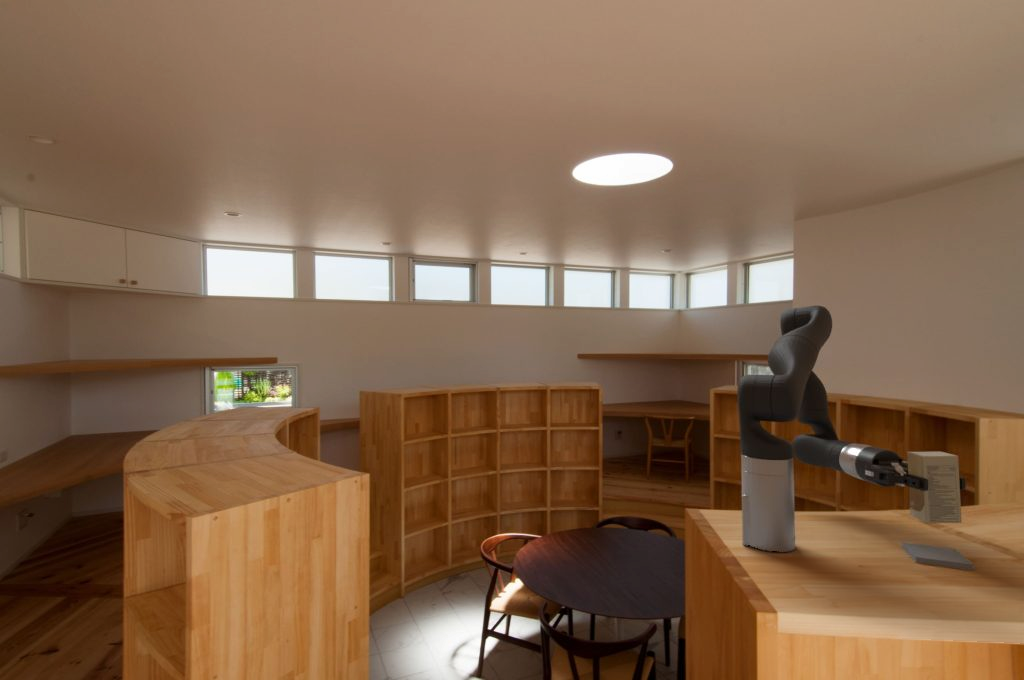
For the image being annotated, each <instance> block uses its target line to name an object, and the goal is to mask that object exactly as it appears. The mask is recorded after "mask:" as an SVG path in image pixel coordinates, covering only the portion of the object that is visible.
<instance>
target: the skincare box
mask: <svg viewBox="0 0 1024 680" xmlns="http://www.w3.org/2000/svg"><path fill="white" fill-rule="evenodd" d="M906 454H907V462H908V474H911V475H915V476H919V477H922V478H926V479H927V480H928V490H927V491H921V490H918V489H915V488H912V487H908V494H909V495H908V499H909V515H910V516H911V517H913V518H915V519H917V520H918V521H919V520H920V521H921V522H924V523H925V524H962V507H961V506H962V505H961V504H962V503H961V490H960V482H959V476H960V470H959V469H960V468H959V467H960V466H959V465H960V464H959V455H956V454H952V453H948V452H945V451H906Z"/></svg>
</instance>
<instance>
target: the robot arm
mask: <svg viewBox="0 0 1024 680" xmlns="http://www.w3.org/2000/svg"><path fill="white" fill-rule="evenodd" d="M780 315H781V316H780V322H779V323H780V330H781V331H780V333H781V336H780V337H779V338H778V339H777V340H776V341H775V342H774V344H773V346H772V348H771V349H770V351H769V354H768V355H767V364H768V367H769V370H770V371H771V372H772V374H746V375H742V376H741V377H740V379H739V381H738V385H737V393H736V394H737V395H736V399H737V410H738V411H737V412H738V423H739V427H738V428H739V442H740V457H741V458H740V460H741V461H740V462H741V463H740V465H741V466H740V467H741V519H742V520H741V521H742V523H741V526H742V527H741V529H742V545H743V546H748V545H750V546H749V547H752V548H754V547H755V548H754V549H757V548H758V550H760V551H761V550H762V551H766V550H767V552H772V551H777V552H776V553H785V552H786V553H788V552H792V551H794V550H795V549H796V521H795V519H796V517H795V479H794V477H795V476H794V457H795V459H797V460H798V461H799V462H801V463H803V464H806V465H811V466H815V467H823V468H828V469H831V470H832V469H833V470H835V471H837V472H840V473H841V472H842V473H844V474H847V475H849V476H852V477H853V478H857V480H858V479H859V480H860V481H861V480H862V481H866V482H867V483H870V484H875V485H876V486H881V487H884V488H888V487H889V488H890V487H893V486H894V487H895V486H900V487H908V488H909V487H912V488H915V489H918V490H921V491H927V490H928V480H927V479H926V478H922V477H919V476H915V475H911V474H908V461H904V460H903V459H902V457H901V456H900V455H899V454H898V453H897V452H896V451H893V450H889V449H886V448H881V447H876V446H873V445H870V444H864V443H863V444H862V443H855V442H851V441H846V440H839V439H840V438H839V437H838V434H837V432H836V429H835V427H834V424H833V422H832V420H831V418H830V412H829V404H828V403H829V402H828V395H827V390H826V388H825V384H823V381H822V380H821V379H820V378H819V377H818V375H817V374H816V373H815V372H814V371H813V369H814V368H815V365H816V363H817V360H818V356H819V354H820V351H821V350H822V347H824V345H825V344H826V343H827V342H828V340H829V338H830V336H831V333H832V331H833V318H832V314H831V313H830V311H829V310H828V309H827V308H826V307H825V306H822V305H808V306H803V307H796V308H791V309H790V308H789V309H786V310H784V311H782V313H781V314H780ZM795 419H797V421H798V422H799V423H800V424H803V425H807V426H809V427H810V428H811V429H812V431H813V433H801V434H798V435H797V436H795V437H794V438H793V439H792V440H791V442H790V441H788V440H786V439H784V438H781V437H779V436H776V435H775V434H772V433H770V432H769V431H768V430H766V429H765V428H764V426H762V424H761V422H770V423H771V422H772V423H789V422H790V423H791V422H793V421H795ZM959 482H960V491H961V490H966V478H965V477H963V476H960V475H959ZM778 551H779V552H778Z"/></svg>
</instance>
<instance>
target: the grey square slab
mask: <svg viewBox="0 0 1024 680" xmlns="http://www.w3.org/2000/svg"><path fill="white" fill-rule="evenodd" d="M901 545H902V546H901V547H902V548H903V550H904V551H905V552H906V553H907V555H908V556H910V558H911V559H912V560H913V561H914V563H917V564H924V565H930V566H937V567H938V566H939V567H945V568H953V569H958V570H959V569H961V570H966V571H975V568H974V567H975V564H974V563H973V562H972V561H970V560H969V559H968V558H967V557H966V556H964V555H963V554H962V553H961V552H960V551H959V550H958V549H956V548H955V547H954V548H953V547H945V546H944V547H943V546H937V545H929V544H928V545H927V544H922V543H921V544H920V543H913V542H906V541H905V542H904V541H902V542H901Z"/></svg>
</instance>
